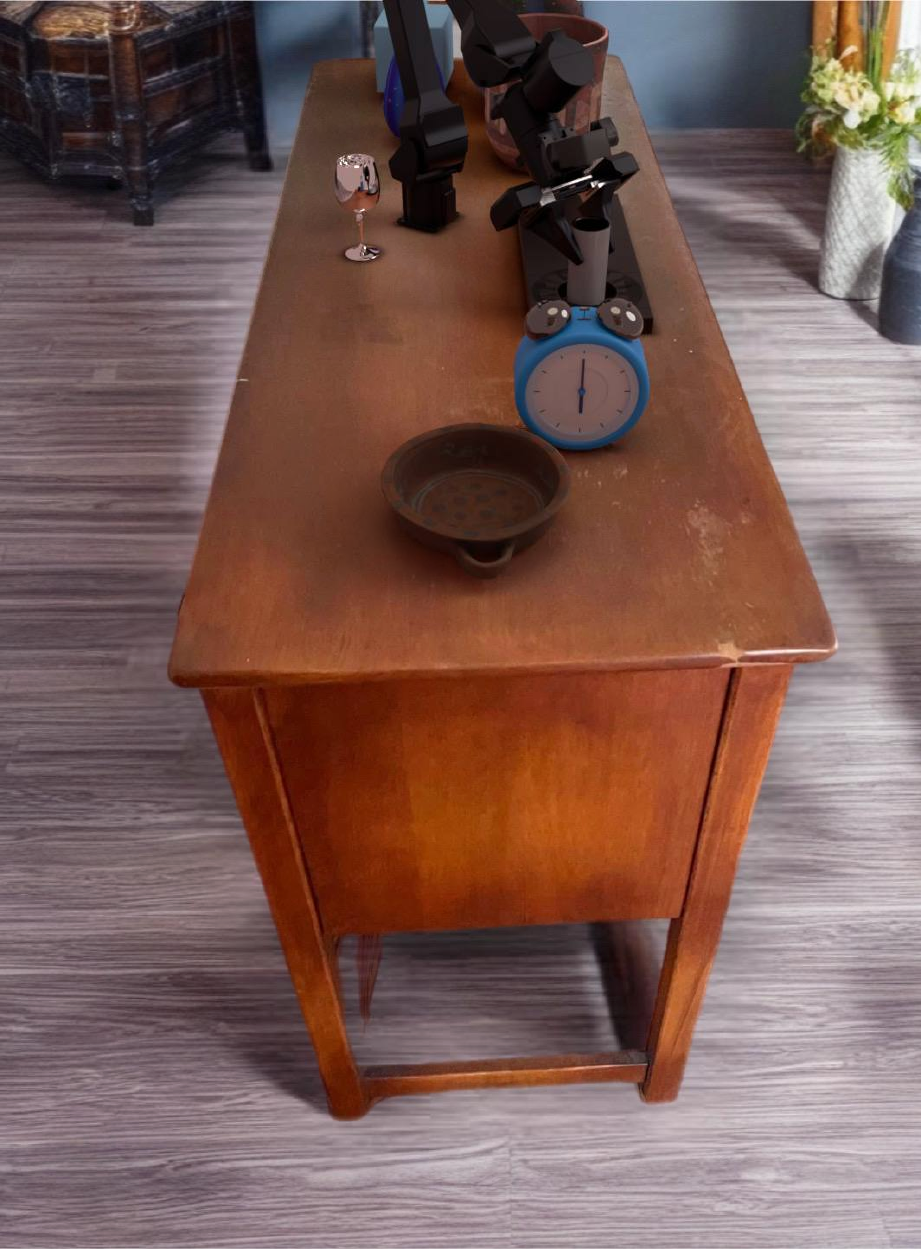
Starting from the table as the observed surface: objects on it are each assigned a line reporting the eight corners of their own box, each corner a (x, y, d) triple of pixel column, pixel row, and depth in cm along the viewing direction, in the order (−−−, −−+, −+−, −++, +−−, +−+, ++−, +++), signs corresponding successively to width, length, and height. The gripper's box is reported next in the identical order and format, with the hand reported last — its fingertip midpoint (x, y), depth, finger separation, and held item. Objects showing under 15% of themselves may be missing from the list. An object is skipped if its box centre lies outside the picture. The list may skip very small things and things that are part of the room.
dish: (384, 597, 103) (380, 552, 100) (382, 456, 120) (379, 413, 116) (583, 588, 104) (586, 543, 101) (555, 448, 120) (556, 405, 117)
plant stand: (515, 210, 165) (516, 195, 163) (616, 207, 165) (617, 193, 163) (531, 336, 138) (531, 320, 136) (652, 333, 138) (653, 318, 136)
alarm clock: (513, 454, 120) (515, 317, 110) (512, 421, 124) (514, 287, 114) (644, 453, 119) (658, 316, 109) (638, 420, 124) (651, 286, 114)
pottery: (573, 132, 186) (579, 7, 174) (619, 172, 174) (629, 40, 162) (466, 146, 182) (465, 19, 170) (506, 189, 170) (507, 55, 158)
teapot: (442, 110, 195) (439, 19, 186) (375, 108, 196) (369, 17, 187) (458, 67, 211) (456, -19, 202) (396, 66, 212) (391, -19, 203)
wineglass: (392, 248, 156) (386, 156, 148) (371, 266, 152) (364, 172, 144) (353, 241, 158) (346, 149, 150) (332, 258, 154) (323, 165, 146)
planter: (609, 312, 142) (616, 229, 135) (573, 317, 141) (578, 233, 134) (596, 295, 145) (602, 213, 138) (561, 299, 144) (565, 217, 137)
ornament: (399, 124, 190) (394, 23, 180) (454, 129, 188) (452, 27, 178) (377, 149, 182) (370, 45, 172) (434, 154, 180) (431, 49, 170)
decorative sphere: (459, 91, 201) (456, -40, 188) (576, 87, 202) (582, -45, 189) (466, 132, 187) (464, -8, 174) (592, 127, 188) (600, -12, 175)
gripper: (506, 115, 126) (570, 250, 127) (636, 78, 134) (694, 205, 135) (462, 167, 136) (521, 292, 136) (585, 130, 144) (640, 248, 145)
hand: (596, 258), depth 138 cm, fingers closed on planter, 4 cm apart
